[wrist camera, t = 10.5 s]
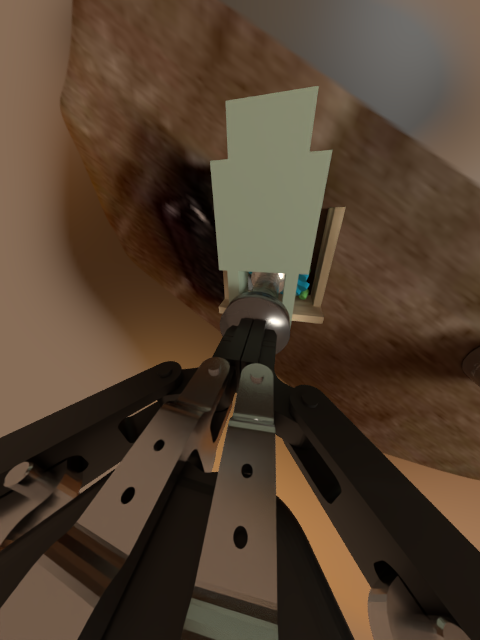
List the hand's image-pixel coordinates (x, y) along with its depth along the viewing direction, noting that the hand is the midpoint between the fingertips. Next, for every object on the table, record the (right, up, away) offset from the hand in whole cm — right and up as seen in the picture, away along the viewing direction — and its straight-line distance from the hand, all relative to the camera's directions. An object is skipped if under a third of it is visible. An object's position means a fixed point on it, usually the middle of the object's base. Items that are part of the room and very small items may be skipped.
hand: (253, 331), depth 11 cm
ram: (+3, +6, +9) cm, 11 cm away
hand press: (+5, +14, +14) cm, 20 cm away
